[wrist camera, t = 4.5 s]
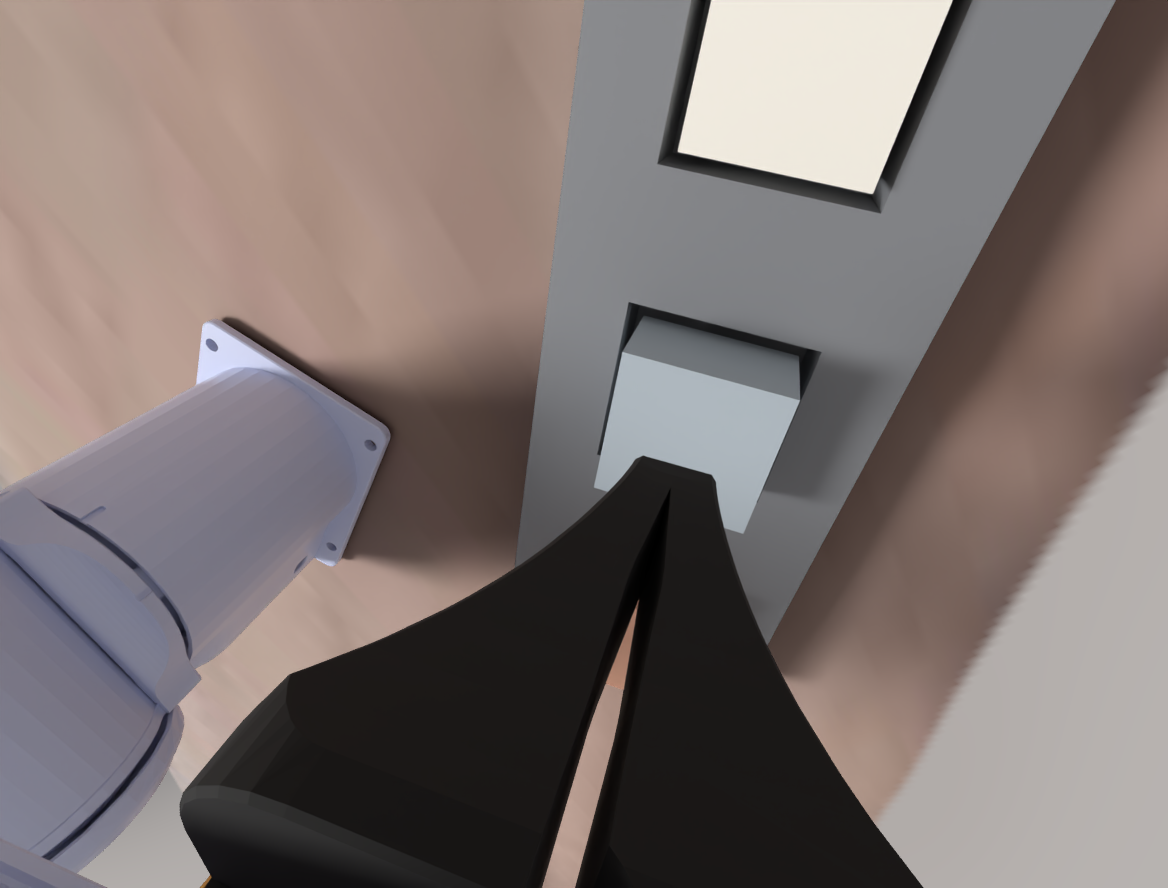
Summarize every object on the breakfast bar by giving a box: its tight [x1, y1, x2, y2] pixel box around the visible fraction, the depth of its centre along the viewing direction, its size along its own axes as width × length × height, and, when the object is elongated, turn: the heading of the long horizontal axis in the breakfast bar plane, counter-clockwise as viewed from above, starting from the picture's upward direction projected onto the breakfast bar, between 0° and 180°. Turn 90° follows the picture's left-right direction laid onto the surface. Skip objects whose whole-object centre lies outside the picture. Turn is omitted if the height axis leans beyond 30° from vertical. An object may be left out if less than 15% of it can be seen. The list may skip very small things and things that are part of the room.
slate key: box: [594, 316, 800, 534], centre depth 15 cm, size 4×4×2 cm
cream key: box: [678, 0, 953, 194], centre depth 12 cm, size 4×4×2 cm
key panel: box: [515, 0, 1116, 645], centre depth 17 cm, size 25×9×2 cm, turn 170°
